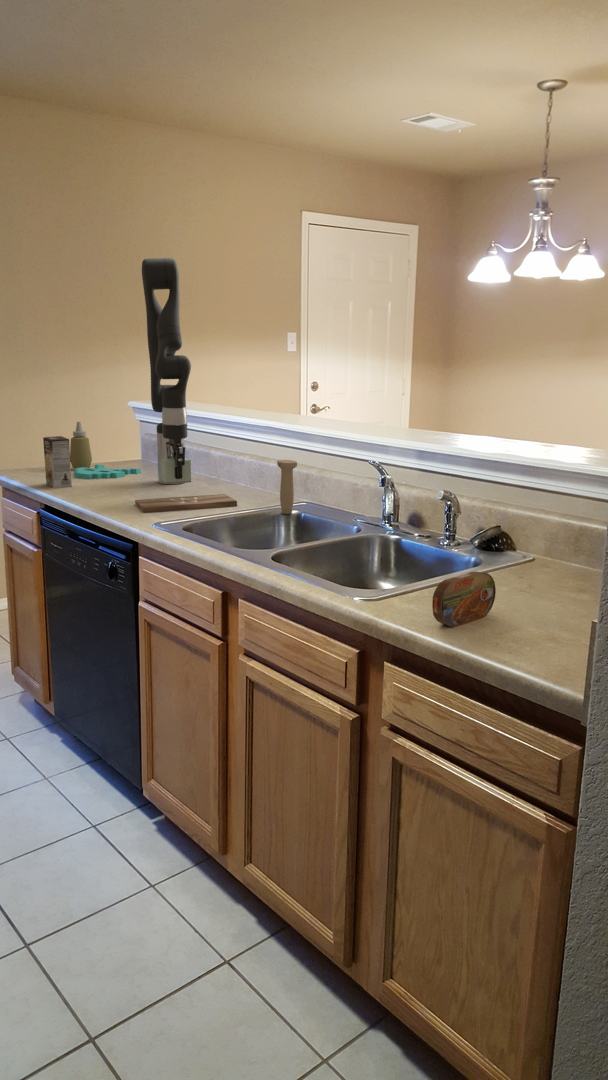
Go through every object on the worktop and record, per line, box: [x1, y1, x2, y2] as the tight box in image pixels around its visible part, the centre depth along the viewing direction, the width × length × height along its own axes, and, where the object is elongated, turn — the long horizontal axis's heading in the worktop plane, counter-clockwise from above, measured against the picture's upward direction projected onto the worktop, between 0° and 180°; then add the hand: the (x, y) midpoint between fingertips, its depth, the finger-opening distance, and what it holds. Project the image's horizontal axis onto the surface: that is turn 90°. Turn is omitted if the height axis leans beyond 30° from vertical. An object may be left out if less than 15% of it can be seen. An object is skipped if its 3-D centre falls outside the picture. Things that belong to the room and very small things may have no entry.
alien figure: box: [73, 463, 141, 480], centre depth 294 cm, size 20×2×20 cm
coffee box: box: [42, 435, 72, 489], centre depth 270 cm, size 9×6×16 cm
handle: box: [276, 459, 298, 515], centre depth 229 cm, size 5×6×15 cm
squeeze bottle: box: [69, 421, 93, 470], centre depth 302 cm, size 8×8×18 cm
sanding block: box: [161, 457, 192, 485], centre depth 250 cm, size 5×8×7 cm, turn 114°
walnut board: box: [134, 493, 238, 513], centre depth 240 cm, size 12×28×2 cm, turn 113°
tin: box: [431, 571, 497, 628], centre depth 143 cm, size 15×3×8 cm, turn 130°
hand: (176, 476), depth 250 cm, fingers closed on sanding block, 5 cm apart
